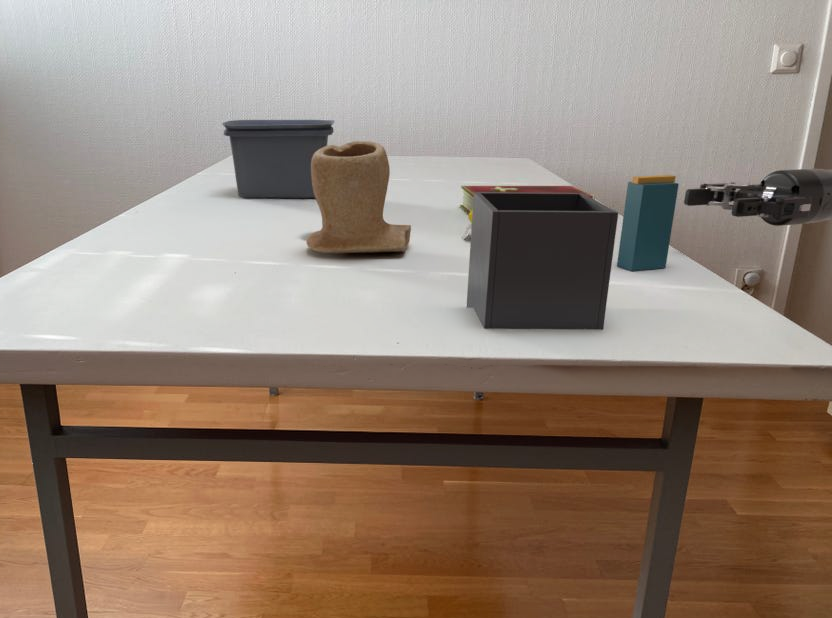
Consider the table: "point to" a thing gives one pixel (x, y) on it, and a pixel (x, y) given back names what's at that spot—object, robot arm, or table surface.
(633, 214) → the block
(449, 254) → the table surface
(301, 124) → the storage bin
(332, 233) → the stone cup
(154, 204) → the table surface
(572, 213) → the trash bin
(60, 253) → the table surface
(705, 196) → the robot arm
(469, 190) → the hardcover book
